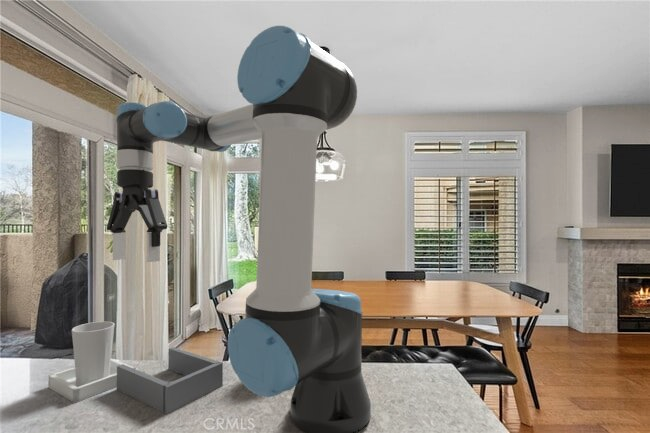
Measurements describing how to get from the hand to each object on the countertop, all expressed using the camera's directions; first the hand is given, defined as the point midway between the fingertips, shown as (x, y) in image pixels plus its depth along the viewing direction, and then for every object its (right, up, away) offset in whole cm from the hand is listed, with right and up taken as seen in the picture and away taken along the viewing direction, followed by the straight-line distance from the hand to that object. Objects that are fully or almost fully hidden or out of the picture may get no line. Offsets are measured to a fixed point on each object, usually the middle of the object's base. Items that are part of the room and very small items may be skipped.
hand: (135, 260), depth 82 cm
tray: (-7, -27, -4) cm, 28 cm away
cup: (-7, -26, -4) cm, 28 cm away
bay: (+11, -27, -6) cm, 30 cm away
